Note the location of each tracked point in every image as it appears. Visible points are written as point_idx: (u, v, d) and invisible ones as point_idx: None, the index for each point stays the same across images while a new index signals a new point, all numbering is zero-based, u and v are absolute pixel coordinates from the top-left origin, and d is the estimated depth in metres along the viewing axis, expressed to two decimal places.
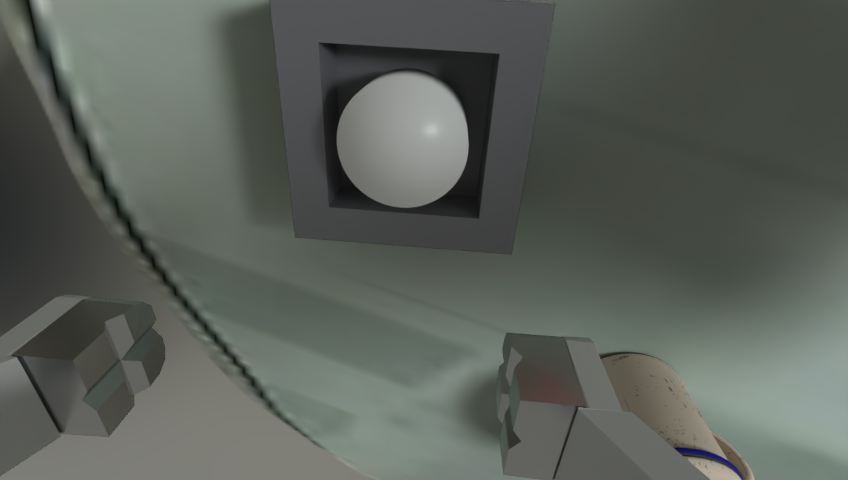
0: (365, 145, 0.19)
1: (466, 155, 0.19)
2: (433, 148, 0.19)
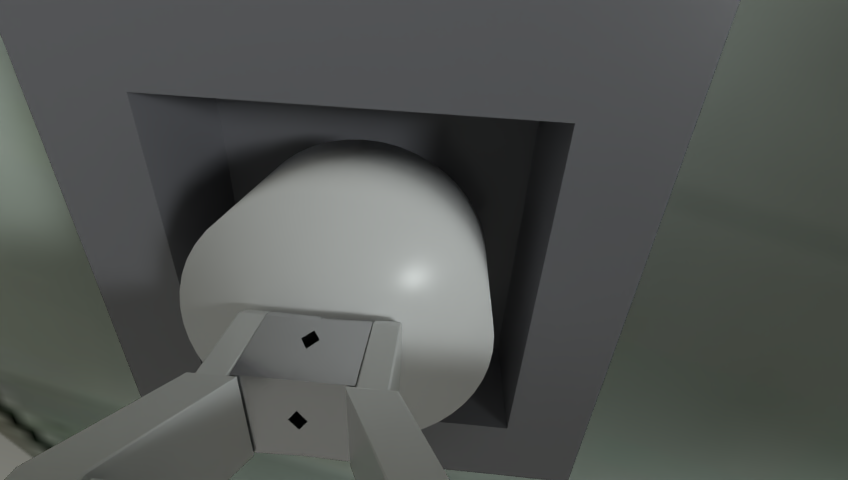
0: None
1: (488, 358, 0.08)
2: (410, 341, 0.08)
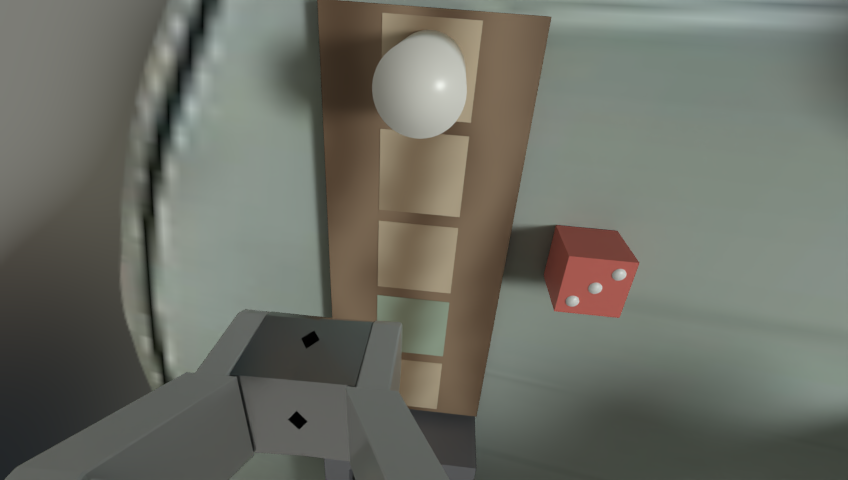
0: None
1: None
2: None
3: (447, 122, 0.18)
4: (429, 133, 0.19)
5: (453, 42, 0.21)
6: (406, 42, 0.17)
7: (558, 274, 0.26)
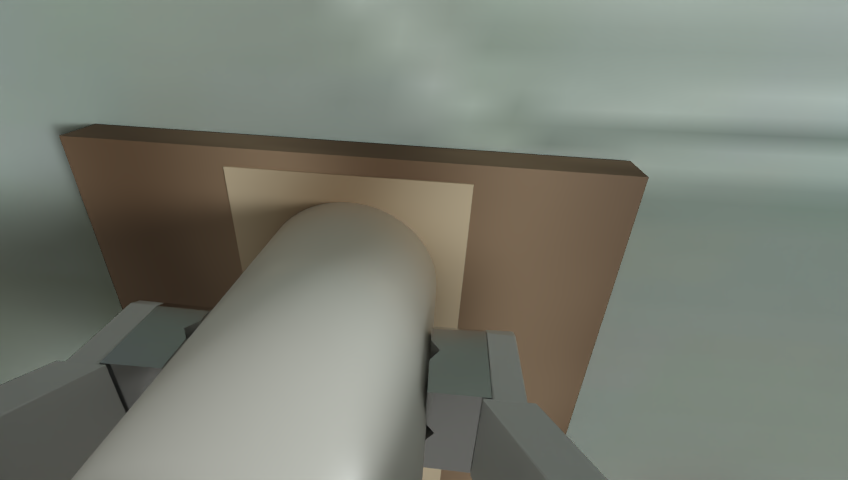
0: None
1: None
2: None
3: None
4: None
5: (400, 256, 0.08)
6: (141, 465, 0.04)
7: None
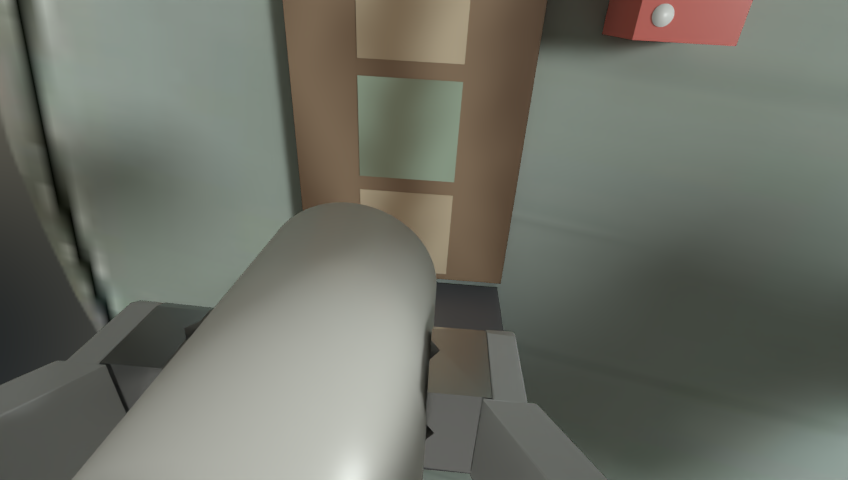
0: None
1: None
2: None
3: None
4: None
5: (400, 256, 0.08)
6: (141, 467, 0.04)
7: None
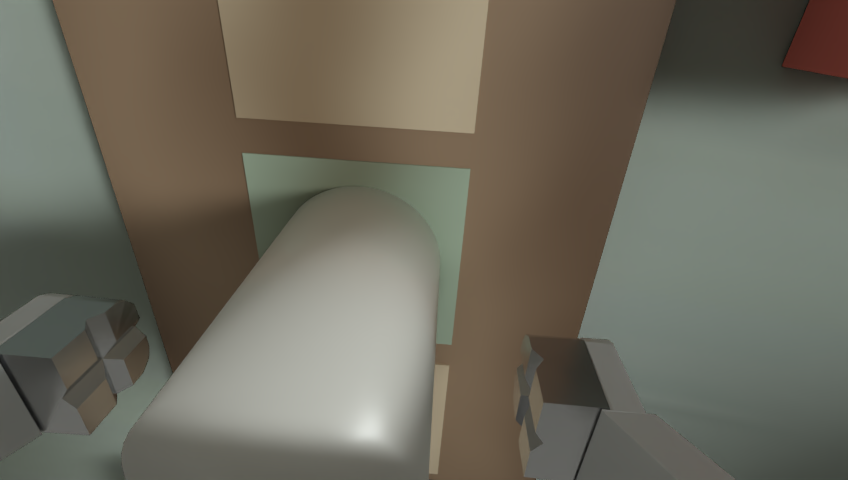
0: None
1: None
2: None
3: None
4: None
5: (409, 234, 0.09)
6: (208, 395, 0.05)
7: None
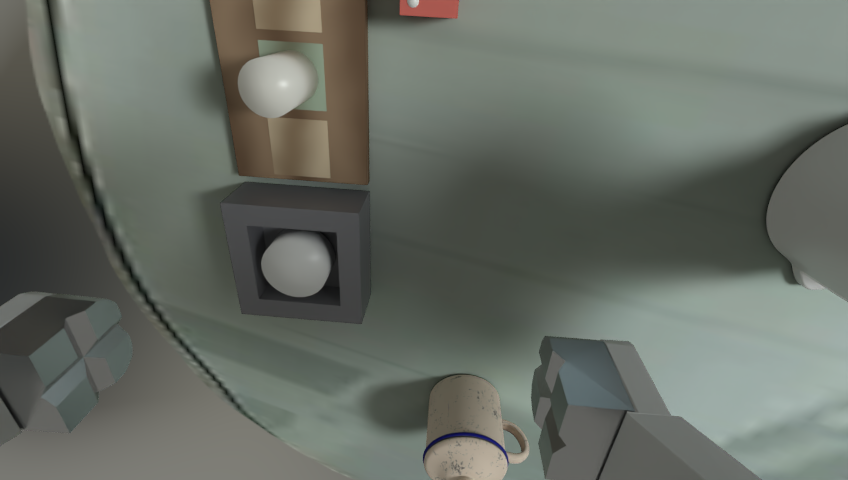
0: (276, 269, 0.39)
1: (325, 274, 0.39)
2: (309, 270, 0.39)
3: (285, 108, 0.30)
4: (275, 115, 0.30)
5: (304, 59, 0.33)
6: (256, 58, 0.29)
7: None
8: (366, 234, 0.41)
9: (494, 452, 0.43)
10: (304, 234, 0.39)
